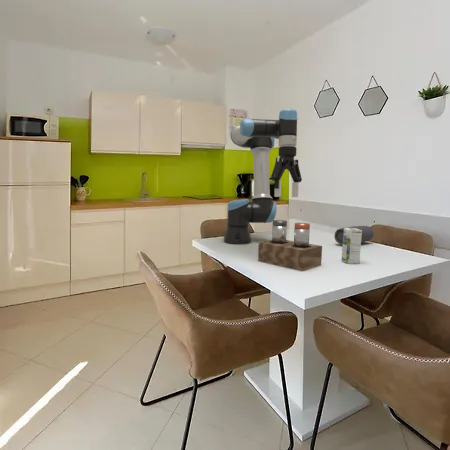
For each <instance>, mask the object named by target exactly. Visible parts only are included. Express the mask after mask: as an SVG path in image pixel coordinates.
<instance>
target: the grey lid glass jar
mask: <svg viewBox="0 0 450 450" xmlns="http://www.w3.org/2000/svg"><path fill="white" fill-rule="evenodd" d="M271 227H272V228H271V229H272V231H271V232H272V233H271V234H272V235H271V240H272V243H276V244H285V243H286V240H287V231H288V230H287V228H288V221H287V220H282V219H274V220H273V221H272V226H271Z"/></svg>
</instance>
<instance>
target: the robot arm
mask: <svg viewBox="0 0 450 450" xmlns="http://www.w3.org/2000/svg"><path fill="white" fill-rule="evenodd" d="M297 135H298V112H297V110H296V109H293V108H285V109H281V110H280V111H279V115H278V119H259V118H242V119H241V120H240V123H239V125H238V126H236V127H234V128H232V130H231V132H230V140H231V141H232V143H233V144H235V145H236V146H238V147H240V148H245V149H248V148H249V149H250V153H251V154H252V155H253V156H252V157H253V191H254V192H253V193H254V196H253V197H252V198H251V201H250V199H249V198H241V199H240V198H239V199H234V200H230V201H228V203H227V210H226V211H227V216H226V218H227V219H226V221H227V224H226V225H227V227H226V231H225V233H224V236H223V242H224V243H226V244H231V245H232V244H233V245H245V244H251V243H252V236H251V233H250V230H249V229H250V228H249V224H255V223H256V224H257V223H258V224H261V223H262V224H267V223H273V220H276V219H275V218H276V215H277V207H278V205H277V202H276V201H273V200H274V199H273V197H272V196H271V190H270V188H271V187H270V179H271V181H272V182H274V184H273V185H274V187H273V188H274V197H275V198H280V197H282V180H281V178H282V176H284V175H283V174H284V173H285V171H286V170H287V171H288V172H289V174H290V176H291V178H292V187H291V190H292V191H291V197H292V198H299V189H300V188H299V183H301V182H302V179H303V178H302V175H301V171H300V165H299V159H295V157H296V156H297V139H298V138H297V137H298V136H297ZM275 140H278V156H276V157H275V163H274V167H273V170H272V173H271V176H270V161H269V159H270V158H269V157H270V156H269V154H270V153H271V151H272V149H273V148H274V147H275Z"/></svg>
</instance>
